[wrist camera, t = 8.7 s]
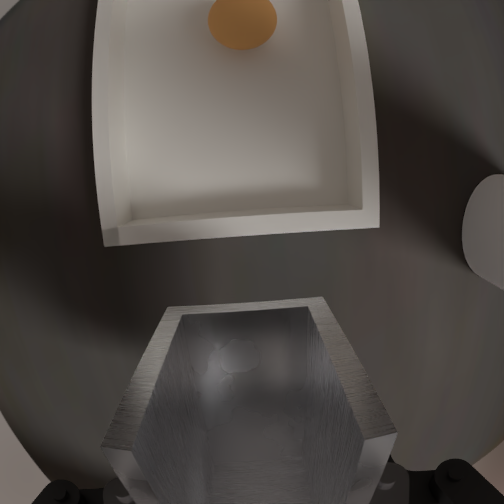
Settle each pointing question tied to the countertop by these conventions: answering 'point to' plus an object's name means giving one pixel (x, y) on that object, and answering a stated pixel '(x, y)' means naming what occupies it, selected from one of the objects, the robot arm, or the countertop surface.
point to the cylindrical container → (485, 230)
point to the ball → (242, 22)
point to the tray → (231, 123)
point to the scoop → (250, 410)
